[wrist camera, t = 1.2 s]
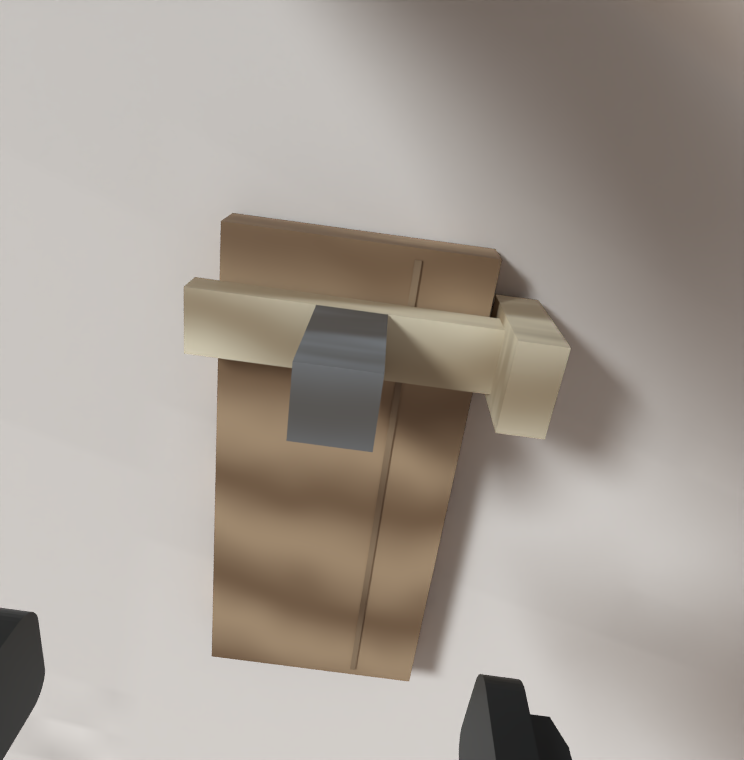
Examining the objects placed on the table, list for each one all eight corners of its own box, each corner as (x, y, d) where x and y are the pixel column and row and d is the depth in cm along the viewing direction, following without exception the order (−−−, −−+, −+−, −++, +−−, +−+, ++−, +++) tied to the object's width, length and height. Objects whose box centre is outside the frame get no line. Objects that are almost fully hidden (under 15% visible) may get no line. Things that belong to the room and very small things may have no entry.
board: (232, 213, 27) (220, 221, 25) (495, 249, 28) (502, 260, 26) (220, 629, 38) (211, 657, 36) (408, 653, 38) (408, 682, 37)
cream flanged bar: (208, 255, 28) (122, 324, 19) (538, 300, 28) (598, 388, 19) (207, 335, 30) (127, 432, 21) (518, 377, 30) (566, 490, 21)
